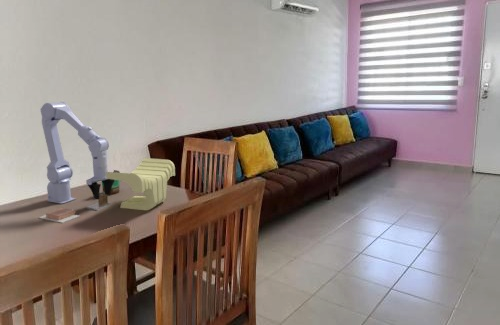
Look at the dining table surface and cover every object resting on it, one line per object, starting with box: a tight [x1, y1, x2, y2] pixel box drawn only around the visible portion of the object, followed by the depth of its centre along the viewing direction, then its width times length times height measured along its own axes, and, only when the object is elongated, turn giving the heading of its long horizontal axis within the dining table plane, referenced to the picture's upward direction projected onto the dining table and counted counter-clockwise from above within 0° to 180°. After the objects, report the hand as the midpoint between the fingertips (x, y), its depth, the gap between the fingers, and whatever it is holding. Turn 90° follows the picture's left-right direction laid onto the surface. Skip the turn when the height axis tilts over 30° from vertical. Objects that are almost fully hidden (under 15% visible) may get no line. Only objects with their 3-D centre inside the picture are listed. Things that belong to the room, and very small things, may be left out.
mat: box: [38, 214, 80, 224], centre depth 157 cm, size 13×8×1 cm, turn 66°
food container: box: [101, 169, 121, 196], centre depth 191 cm, size 12×6×10 cm, turn 168°
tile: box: [45, 207, 76, 220], centre depth 158 cm, size 7×2×8 cm
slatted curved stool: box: [106, 157, 176, 211], centre depth 172 cm, size 30×16×18 cm, turn 165°
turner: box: [85, 193, 111, 211], centre depth 170 cm, size 8×6×5 cm
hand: (102, 196), depth 172 cm, fingers open, 6 cm apart
